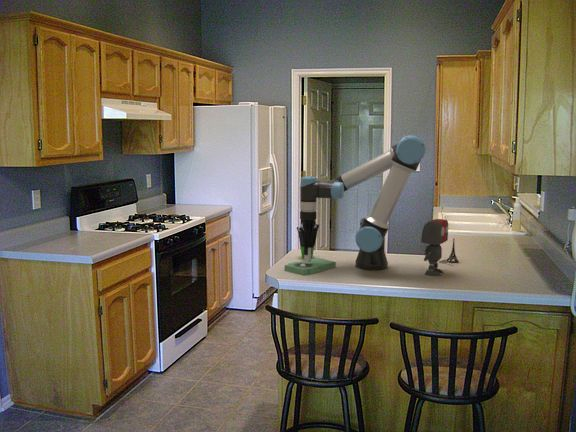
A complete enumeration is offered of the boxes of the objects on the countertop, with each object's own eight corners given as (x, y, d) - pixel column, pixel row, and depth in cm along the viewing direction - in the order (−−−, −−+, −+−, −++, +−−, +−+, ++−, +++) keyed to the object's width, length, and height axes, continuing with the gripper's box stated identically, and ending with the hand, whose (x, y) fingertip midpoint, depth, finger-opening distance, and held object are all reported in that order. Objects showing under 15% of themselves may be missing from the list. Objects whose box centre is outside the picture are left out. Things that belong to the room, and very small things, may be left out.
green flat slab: (315, 262, 275) (315, 257, 274) (337, 267, 265) (337, 262, 264) (282, 270, 259) (283, 264, 259) (305, 275, 249) (305, 270, 249)
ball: (307, 268, 260) (308, 265, 257) (303, 273, 258) (303, 270, 256) (302, 264, 261) (302, 261, 258) (297, 268, 259) (298, 265, 257)
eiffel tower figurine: (449, 258, 287) (451, 232, 285) (468, 262, 280) (470, 235, 278) (435, 263, 276) (436, 236, 274) (454, 267, 269) (455, 239, 267)
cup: (314, 260, 278) (315, 238, 277) (296, 259, 280) (296, 237, 278) (317, 256, 287) (317, 235, 285) (299, 255, 289) (300, 234, 287)
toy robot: (435, 279, 244) (439, 211, 239) (415, 276, 248) (418, 209, 244) (450, 269, 262) (453, 205, 257) (431, 267, 267) (433, 203, 262)
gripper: (311, 208, 264) (311, 258, 267) (292, 211, 255) (291, 262, 258) (324, 210, 258) (323, 260, 262) (304, 213, 249) (303, 265, 253)
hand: (307, 261), depth 260 cm, fingers closed
